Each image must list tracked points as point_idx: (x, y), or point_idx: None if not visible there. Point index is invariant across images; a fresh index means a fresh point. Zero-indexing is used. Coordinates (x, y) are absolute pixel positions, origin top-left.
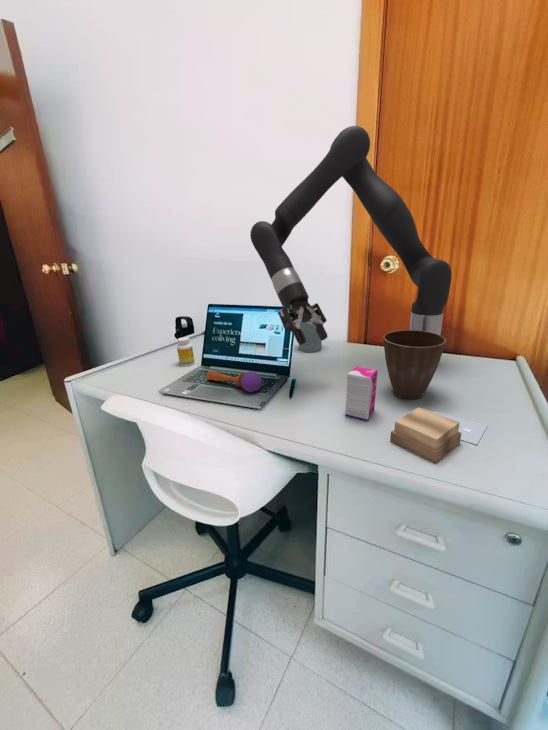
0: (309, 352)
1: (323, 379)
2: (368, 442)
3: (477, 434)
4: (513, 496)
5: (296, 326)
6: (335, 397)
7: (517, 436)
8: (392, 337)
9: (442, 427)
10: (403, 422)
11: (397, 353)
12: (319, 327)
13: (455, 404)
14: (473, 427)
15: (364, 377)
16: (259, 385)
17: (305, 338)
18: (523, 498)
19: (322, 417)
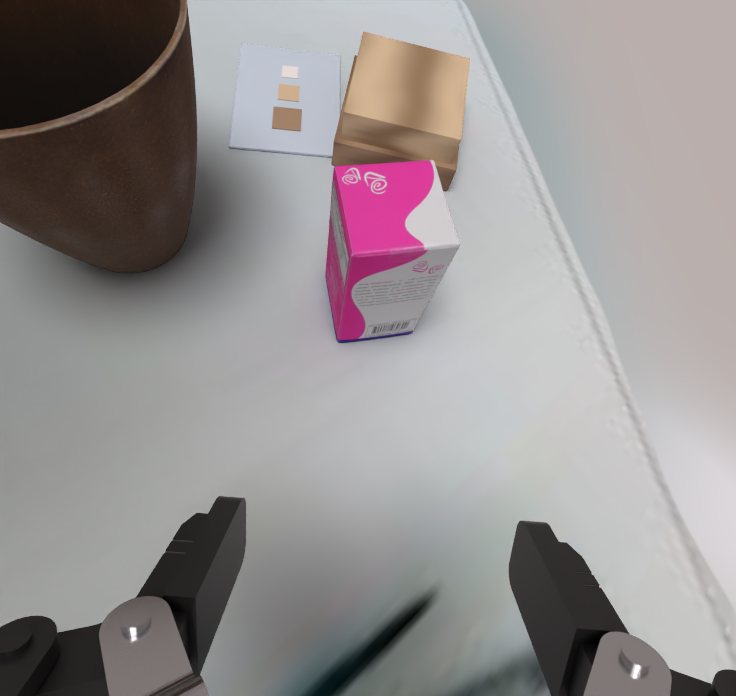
0: None
1: None
2: (483, 229)
3: (295, 56)
4: (454, 14)
5: (667, 667)
6: (310, 433)
7: (251, 4)
8: None
9: (411, 55)
10: (451, 124)
11: (185, 85)
12: (201, 612)
13: None
14: (266, 63)
15: (439, 181)
16: None
17: (531, 535)
18: (449, 5)
19: (465, 389)
